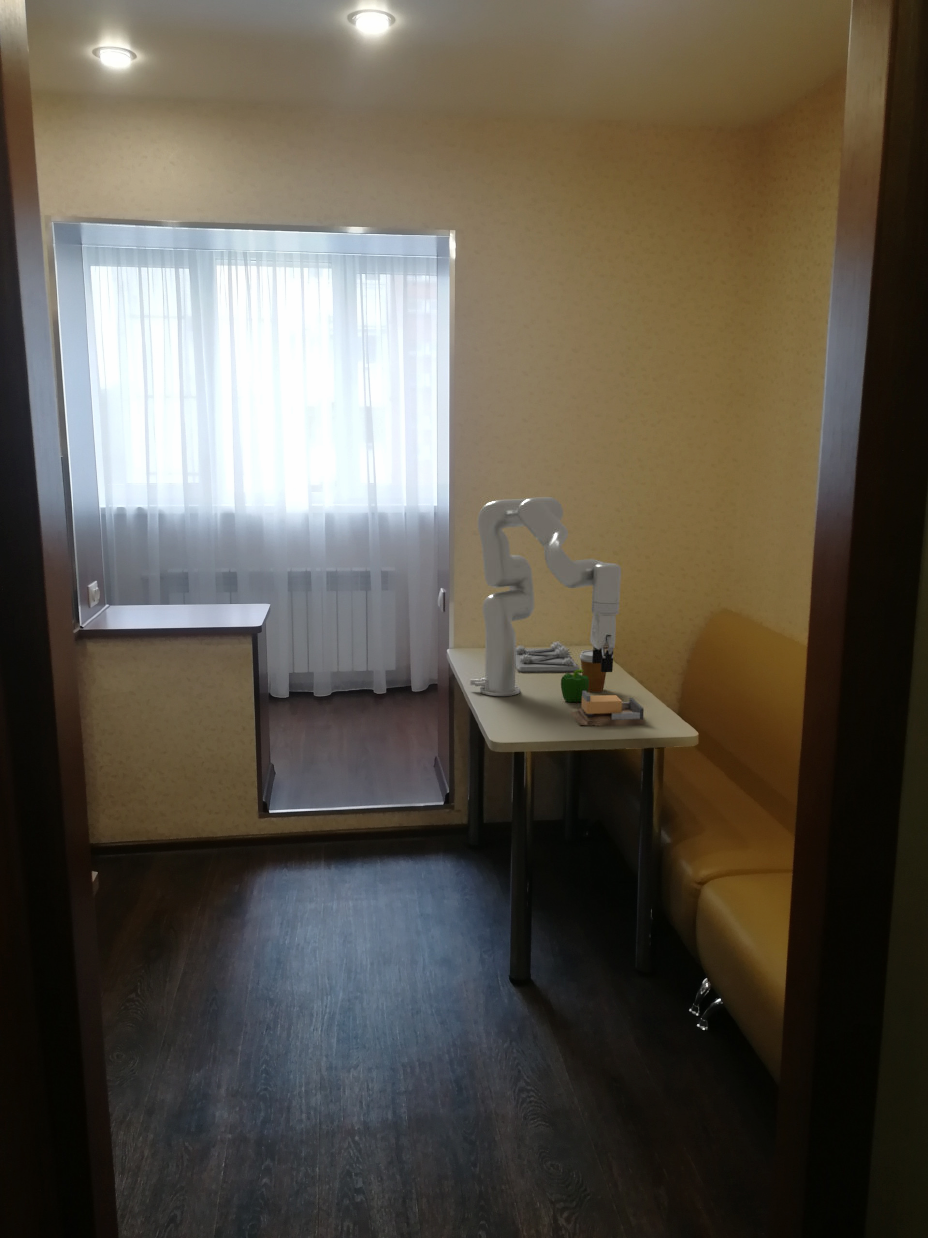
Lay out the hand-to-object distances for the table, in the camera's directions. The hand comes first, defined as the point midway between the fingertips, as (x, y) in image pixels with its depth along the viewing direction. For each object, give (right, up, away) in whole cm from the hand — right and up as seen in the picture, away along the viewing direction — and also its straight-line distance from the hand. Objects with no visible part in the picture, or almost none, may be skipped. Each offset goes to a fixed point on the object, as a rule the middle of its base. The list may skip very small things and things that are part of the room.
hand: (602, 667), depth 263 cm
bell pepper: (-5, -11, +22) cm, 25 cm away
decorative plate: (-11, -3, +71) cm, 72 cm away
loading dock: (+2, -15, +3) cm, 15 cm away
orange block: (0, -13, +2) cm, 14 cm away
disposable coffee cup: (+2, -9, +34) cm, 36 cm away
